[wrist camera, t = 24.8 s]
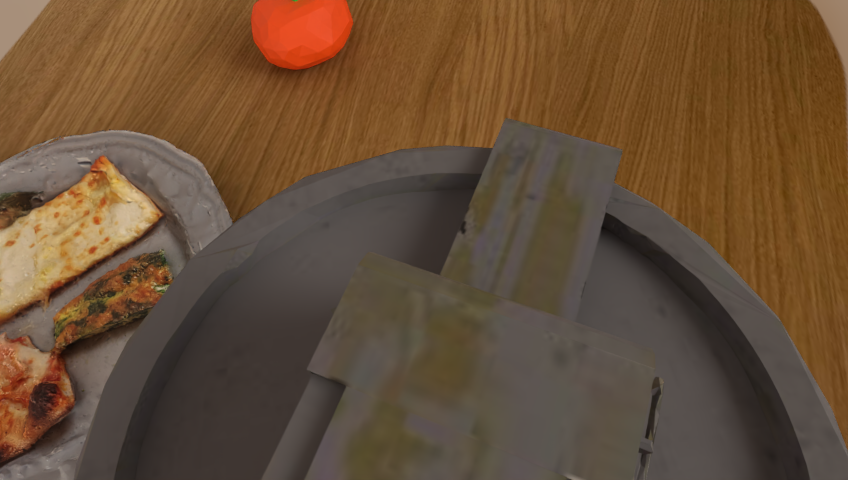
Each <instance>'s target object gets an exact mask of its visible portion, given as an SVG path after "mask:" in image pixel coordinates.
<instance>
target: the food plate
mask: <svg viewBox="0 0 848 480" xmlns="http://www.w3.org/2000/svg"><path fill="white" fill-rule="evenodd" d="M63 136H64V135H63ZM60 137H61V136H60ZM57 138H58V137H57ZM54 139H56V138H54ZM54 139H51V140H47V141H45V142H43V143H40V144H37V145H35V146H33V147H31V148H29V149H27V150H25V151H23V152H21V153H19V154H16V155H15V156H13V157H11V158H9V159H7V160H5V161H3V162H2V163H0V480H73V479H74V474H75V469H76V464H77V461H78V459H79V456H80V453H81V450H82V447H83V445H84V442H85V439H86V436H87V433H88V431H89V428H90V425H91V422H92V419H93V417H94V414H95V411H96V408H97V405H98V403H99V400H100V397H101V394H102V391H103V389H104V386H105V383H106V382H107V380H108V378H109V376H110V374H111V372H112V370H113V368H114V366H115V364H116V362H117V360H118V358H119V356H120V354H121V352H122V351H123V349H124V347H125V345H126V343H127V341H128V340H129V338H130V337H131V336H132V335H133V333H134V332H135V331H136V329H137V328H138V327H139V325H140V324H141V323H142V321H143V320H144V319H145V317H146V316H147V315H148V314H149V312H150V311H151V310H152V308H153V307H154V306H155V304H156V303H157V302H158V300H159V299H160V298H161V297H162V295H163V294H164V293H165V291H166V290H167V289H168V287H169V286H170V285H171V283H172V282H173V281H174V280H175V278H176V277H177V276H178V274H179V273H180V272H181V270H182V269H183V268H184V266H185V265H186V264H187V262H188V261H189V260H190V259H191V258H192V257H194V256H195V255H196V254H197V253H198V252H200V251H201V250H202V249H203V248H204V247H206V246H207V245H208V244H209V243H211V242H212V241H213V240H214V239H215V238H217V237H218V236H219V235H220V234H221V233H223V232H224V231H225V230H226V229H227V228H229V227H230V226H231V225H232V224H233V223H232V219H231V218H230V215H229V212H228V210H227V207H226V205H225V203H224V202H223V201H224V200H223V201H222V199H221V196H220V194H219V191H218V189H217V188H216V186H215V184H214V183H213V180H212V179H211V177H210V175H208V174H207V173H208V172H207V170H206V169H205V166H204V164H202V162H201V161H200V160H199V159H197V158H195V157H194V156H193V155H190V154H189V153H186V152H185V151H183V150H180V149H176V147H174V146H175V145H173V144H170V143H169V141H168V142H167V141H164V140H165V139H164V140H161V139H158V138H155V137H154V136H152V135H146V134H142V133H139V132H132V131H127V130H126V131H125V130H124V131H123V130H119V131H118V130H117V131H116V130H110V129H109V131H104V130H102V131H97V132H94V133H91V134H84V135H73V136H69V137H64V138H59V140H57V141H54V143H53V142H52V143H50V145H49V144H46V143H48V142H51V141H52V140H54ZM44 144H46V145H44ZM41 145H44V146H41ZM39 146H41V147H39ZM37 147H39V148H38V149H35V150H32V149H34V148H37ZM30 150H32V151H31V152H28V151H30ZM26 152H28V153H27V154H24V153H26ZM22 154H24V155H22ZM20 155H22V156H20ZM19 156H20V157H19ZM17 157H18V158H17Z"/></svg>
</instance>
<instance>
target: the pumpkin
mask: <svg viewBox="0 0 848 480" xmlns="http://www.w3.org/2000/svg"><path fill="white" fill-rule="evenodd" d="M251 25H252V33H253V40H254V42H255V44H256V45H257V46H258V48H259V49H260V50H261V52H262V53H263V55H264V56H265V58H266V59H267V60H268V62H270V63H272V64H274V65H276V66H279V67H282V68H287V69H293V70H298V69H306V68H310V67H312V66H315V65H317V64H320V63H322V62H324V61H326V60H328V59H331V58H333V57H334V56H335V55H336V54H337V53H338V52H339V51H340V50H341V49H342V48H343V47H344V45H345V43H346V41H347V39H348V37H349V35H350V32H351V29H352V25H353V20H352V17H351V14H350V11H349V7H348V5H347V2H346V0H258V1H257V2H256V3H255V4H254V6H253V11H252V16H251Z"/></svg>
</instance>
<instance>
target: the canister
mask: <svg viewBox="0 0 848 480" xmlns="http://www.w3.org/2000/svg"><path fill="white" fill-rule="evenodd" d="M621 155H622V149H619V148H615V147H611V146H608V145H604V144H600V143H597V142H593V141H589V140H586V139H582V138H578V137H575V136H571V135H567V134H564V133H560V132H556V131H553V130H549V129H545V128H542V127H538V126H534V125H530V124H527V123H523V122H519V121H516V120H512V119H508V118H506V119H505V121H504V123H503V125H502V127H501V130H500V132H499V135H498V137H497V139H496V142H495V144H494V147H493V148H481V147H463V146H437V147H425V148H413V149H401V150H397V151H394V152H390V153H387V154H383V155H380V156H376V157H373V158H369V159H366V160H362V161H359V162H356V163H352V164H349V165H345V166H342V167H338V168H335V169H331V170H328V171H324V172H321V173H317V174H314V175H310V176H307V177H304V178H303V179H301V180H299V181H298V182H296V183H294V184H293V185H291V186H289V187H288V188H286V189H285V190H283V191H281V192H280V193H278V194H276V195H275V196H273V197H271V198H270V199H268V200H267V201H265V202H263V203H262V204H260V205H259V206H258V207H256V208H255V209H253V210H252V211H250V212H249V213H247V214H246V215H244V216H243V217H241V218H240V219H238V220H237V221H236V222H235V223H233V224H232V225H231V226H230V227H229V228H227V229H226V230H225V231H224V232H223V233H221V234H220V235H219V236H218V237H217V238H215V239H214V240H213V241H212V242H211V243H209V244H208V245H207V246H206V247H204V248H203V249H202V250H201V251H200V252H198V253H197V254H196V255H195V256H194V257H192V258H191V259H190V260H189V261H188V262H187V264H186V265H185V266H184V268H183V269H182V270H181V272H180V273H179V274H178V276H177V277H176V278H175V280H174V281H173V282H172V283H171V285H170V286H169V287H168V289H167V290H166V291H165V293H164V294H163V295H162V297H161V298H160V299H159V300H158V302H157V303H156V304H155V306H154V307H153V308H152V310H151V311H150V312H149V314H148V315H147V316H146V317H145V319H144V320H143V321H142V323H141V324H140V325H139V327H138V328H137V329H136V331H135V332H134V333H133V335H132V336H131V337H130V338H129V340H128V341H127V343H126V345H125V347H124V349H123V351H122V352H121V354H120V356H119V358H118V360H117V362H116V364H115V366H114V368H113V370H112V372H111V374H110V376H109V378H108V380H107V382H106V383H105V386H104V389H103V391H102V394H101V397H100V400H99V403H98V405H97V408H96V411H95V414H94V417H93V419H92V422H91V425H90V428H89V431H88V433H87V436H86V439H85V442H84V445H83V447H82V450H81V453H80V456H79V459H78V461H77V464H76V469H75V474H74V479H73V480H848V451H847V448H846V446H845V443H844V440H843V438H842V435H841V432H840V430H839V427H838V424H837V422H836V419H835V416H834V414H833V411H832V409H831V407H830V405H829V403H828V402H827V400H826V398H825V397H824V395H823V393H822V391H821V390H820V388H819V386H818V385H817V383H816V381H815V379H814V378H813V376H812V374H811V373H810V371H809V369H808V367H807V366H806V364H805V362H804V360H803V359H802V357H801V355H800V354H799V352H798V350H797V348H796V347H795V345H794V343H793V342H792V340H791V338H790V336H789V335H788V333H787V331H786V329H785V328H784V326H783V324H782V323H781V321H780V319H779V318H778V316H777V315H776V314H775V313H774V312H773V311H772V310H771V309H770V308H769V307H768V306H767V305H766V304H765V303H764V302H763V301H762V299H761V298H760V297H759V296H758V295H757V294H756V293H755V292H754V291H753V290H752V289H751V288H750V287H749V286H748V285H747V284H746V282H745V281H744V280H743V279H742V278H741V277H740V276H739V275H738V274H737V273H736V272H735V271H734V270H733V269H732V268H731V267H730V265H729V264H728V263H727V262H726V261H725V260H724V259H723V258H722V257H721V256H720V255H719V254H718V253H717V252H716V251H715V250H714V248H713V247H712V246H711V245H710V244H709V243H708V242H706V241H705V240H703V239H702V238H701V237H699V236H698V235H696V234H695V233H694V232H692V231H691V230H689V229H688V228H687V227H685V226H684V225H682V224H681V223H680V222H678V221H677V220H675V219H674V218H673V217H671V216H670V215H668V214H667V213H666V212H664V211H663V210H661V209H660V208H659V207H657V206H656V205H654V204H653V203H651V202H650V201H648V200H646V199H644V198H642V197H640V196H638V195H636V194H634V193H633V192H631V191H629V190H627V189H625V188H623V187H621V186H619V185H617V184H615V183H614V180H615V176H616V173H617V169H618V166H619V162H620V158H621Z"/></svg>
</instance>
